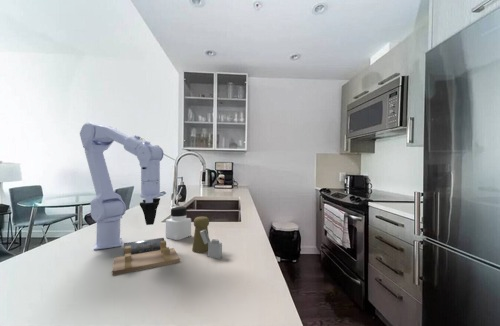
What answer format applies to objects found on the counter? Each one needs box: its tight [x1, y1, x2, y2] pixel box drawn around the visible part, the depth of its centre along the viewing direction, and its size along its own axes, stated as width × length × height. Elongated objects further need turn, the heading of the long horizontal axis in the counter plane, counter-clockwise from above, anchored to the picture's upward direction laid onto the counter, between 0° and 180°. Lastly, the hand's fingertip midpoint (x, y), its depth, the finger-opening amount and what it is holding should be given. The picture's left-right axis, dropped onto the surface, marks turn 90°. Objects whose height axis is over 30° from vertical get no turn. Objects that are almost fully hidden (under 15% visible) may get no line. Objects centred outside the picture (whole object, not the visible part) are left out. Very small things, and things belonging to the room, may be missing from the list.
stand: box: [111, 240, 181, 276], centre depth 66 cm, size 10×17×4 cm, turn 119°
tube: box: [123, 237, 165, 256], centre depth 75 cm, size 4×12×4 cm, turn 119°
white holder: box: [200, 229, 223, 259], centre depth 71 cm, size 7×2×8 cm, turn 72°
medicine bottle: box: [165, 205, 192, 241], centre depth 90 cm, size 7×7×12 cm
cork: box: [191, 216, 210, 254], centre depth 76 cm, size 6×6×11 cm
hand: (150, 221), depth 74 cm, fingers open, 7 cm apart
